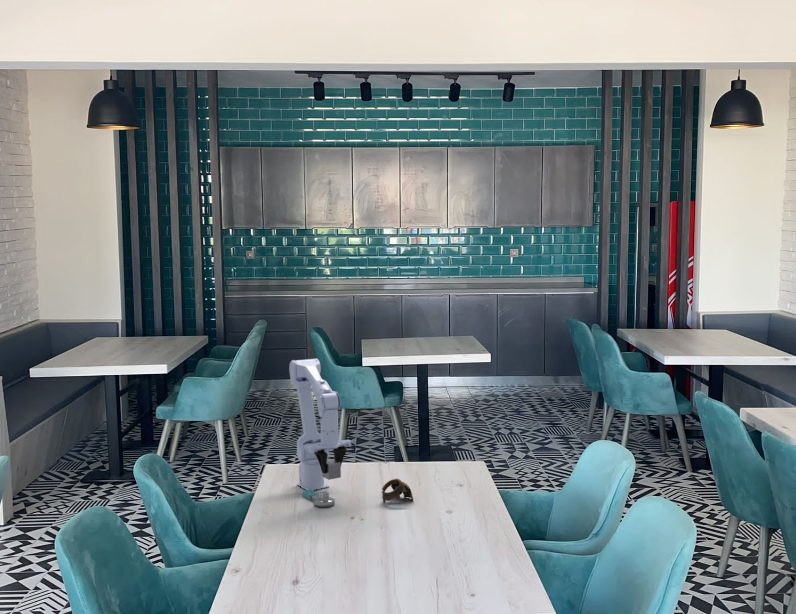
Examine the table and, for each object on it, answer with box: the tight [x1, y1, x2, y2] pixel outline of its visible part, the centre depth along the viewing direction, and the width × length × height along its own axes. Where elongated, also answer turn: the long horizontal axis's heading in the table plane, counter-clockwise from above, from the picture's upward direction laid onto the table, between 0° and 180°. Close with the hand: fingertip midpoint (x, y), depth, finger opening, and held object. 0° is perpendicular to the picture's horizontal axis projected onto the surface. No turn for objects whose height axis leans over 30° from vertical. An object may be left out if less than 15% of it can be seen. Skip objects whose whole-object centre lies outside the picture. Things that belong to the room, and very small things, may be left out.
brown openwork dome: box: [381, 478, 414, 503], centre depth 271 cm, size 12×10×8 cm
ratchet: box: [302, 489, 336, 509], centre depth 273 cm, size 16×6×4 cm, turn 32°
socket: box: [322, 458, 342, 481], centre depth 271 cm, size 4×4×5 cm
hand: (331, 471), depth 271 cm, fingers closed on socket, 4 cm apart
